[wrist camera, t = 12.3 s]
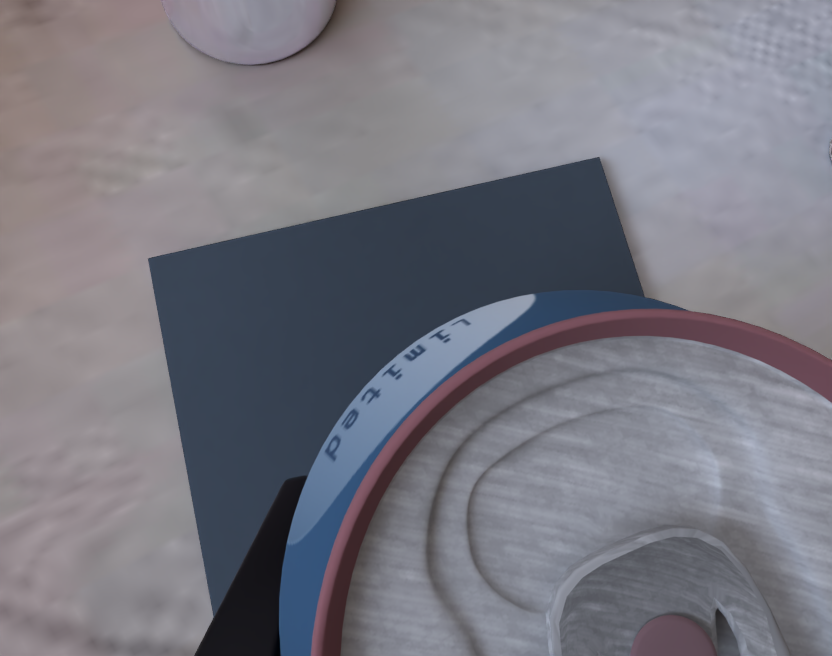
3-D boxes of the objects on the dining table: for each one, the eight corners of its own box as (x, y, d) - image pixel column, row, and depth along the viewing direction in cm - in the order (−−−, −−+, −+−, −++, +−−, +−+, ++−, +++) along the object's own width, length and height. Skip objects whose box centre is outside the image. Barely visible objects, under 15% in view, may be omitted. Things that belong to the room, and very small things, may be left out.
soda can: (320, 419, 16) (108, 414, 4) (530, 336, 17) (851, 132, 5) (404, 651, 15) (434, 1501, 3) (624, 553, 16) (1317, 958, 4)
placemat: (826, 876, 15) (837, 888, 15) (300, 1059, 14) (297, 1078, 13) (595, 161, 18) (599, 156, 18) (152, 261, 17) (147, 257, 17)
